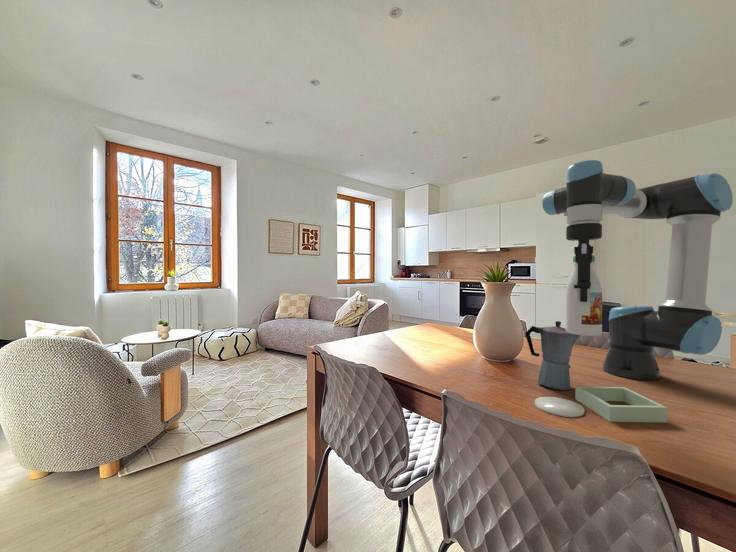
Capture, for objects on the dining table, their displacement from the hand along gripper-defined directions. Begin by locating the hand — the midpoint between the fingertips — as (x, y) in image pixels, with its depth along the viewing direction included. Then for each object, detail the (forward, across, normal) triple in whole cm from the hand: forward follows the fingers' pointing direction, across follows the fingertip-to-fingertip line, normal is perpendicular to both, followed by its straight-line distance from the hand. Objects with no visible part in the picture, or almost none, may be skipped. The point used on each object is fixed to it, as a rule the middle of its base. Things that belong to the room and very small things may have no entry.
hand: (583, 313), depth 80 cm
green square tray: (+24, -4, +7) cm, 26 cm away
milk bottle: (+5, 0, 0) cm, 5 cm away
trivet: (+25, +2, -5) cm, 25 cm away
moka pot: (+25, -15, -7) cm, 30 cm away
